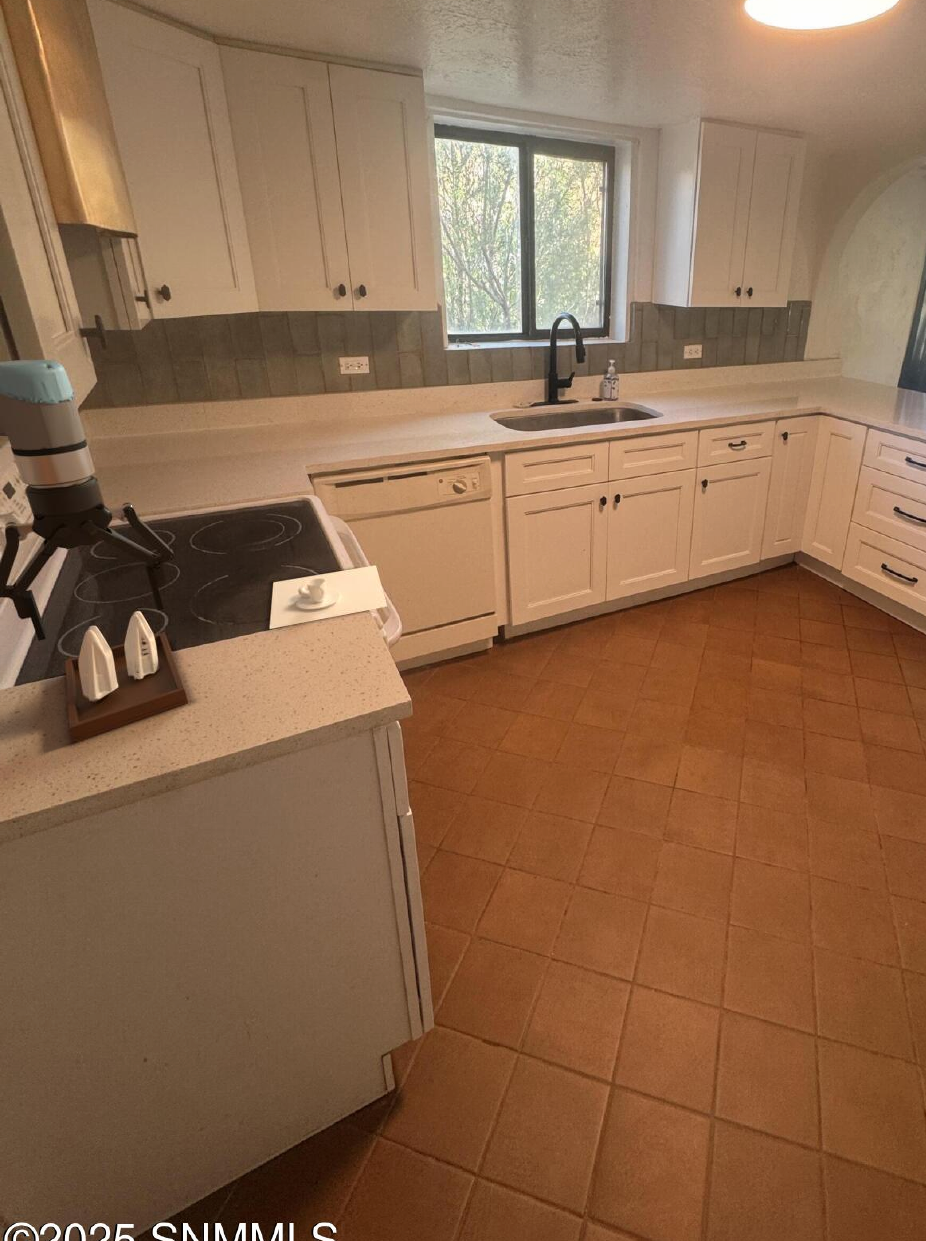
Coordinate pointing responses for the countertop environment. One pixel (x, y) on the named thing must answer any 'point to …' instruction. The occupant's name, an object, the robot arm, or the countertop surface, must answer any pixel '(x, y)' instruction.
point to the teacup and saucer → (325, 596)
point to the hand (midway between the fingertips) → (103, 620)
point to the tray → (124, 694)
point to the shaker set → (100, 663)
